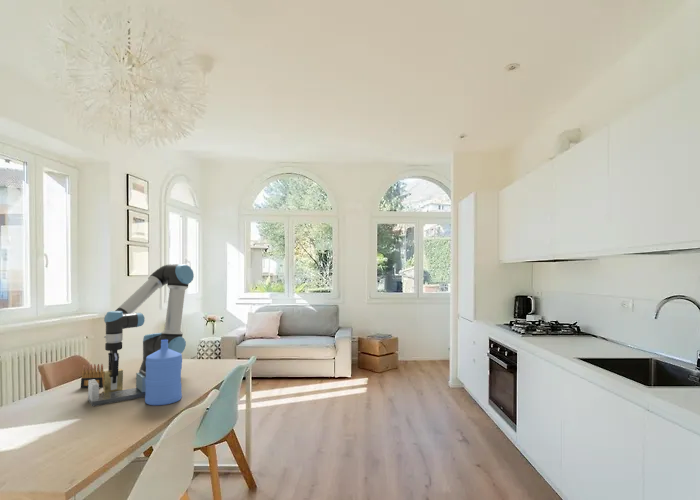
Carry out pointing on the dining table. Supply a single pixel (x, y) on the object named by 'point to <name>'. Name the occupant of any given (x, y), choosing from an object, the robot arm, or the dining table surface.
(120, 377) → the brass block
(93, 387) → the grey l-shaped bracket
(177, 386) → the water jug
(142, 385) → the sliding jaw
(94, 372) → the ammunition clip
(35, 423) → the dining table surface
